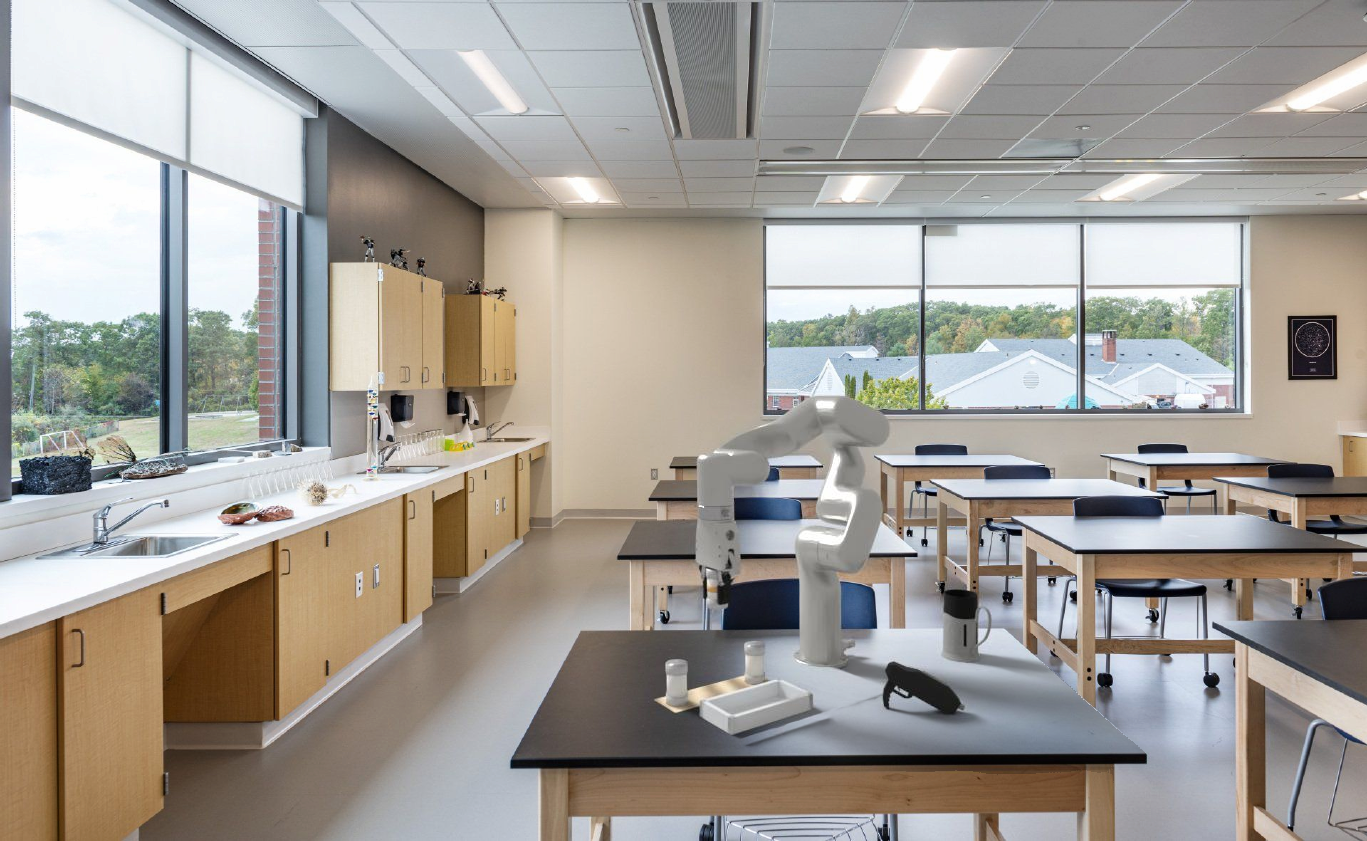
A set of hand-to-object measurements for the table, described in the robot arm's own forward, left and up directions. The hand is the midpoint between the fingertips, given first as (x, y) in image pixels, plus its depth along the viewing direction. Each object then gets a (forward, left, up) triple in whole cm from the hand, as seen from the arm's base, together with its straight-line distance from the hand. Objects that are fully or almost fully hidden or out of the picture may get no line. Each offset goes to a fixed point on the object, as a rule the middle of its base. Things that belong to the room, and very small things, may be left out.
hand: (717, 600), depth 162 cm
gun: (-29, +29, -21) cm, 46 cm away
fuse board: (0, 0, -20) cm, 20 cm away
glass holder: (-61, +16, -20) cm, 66 cm away
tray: (0, +13, -20) cm, 24 cm away
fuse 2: (-10, 0, -19) cm, 22 cm away
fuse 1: (+10, 0, -19) cm, 22 cm away
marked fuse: (0, 0, -1) cm, 1 cm away
